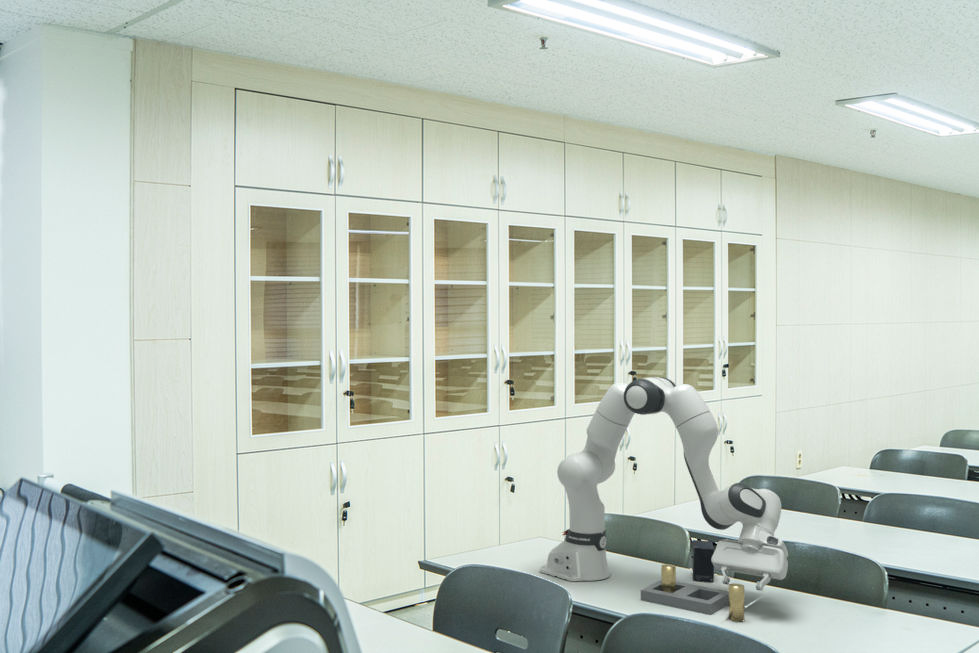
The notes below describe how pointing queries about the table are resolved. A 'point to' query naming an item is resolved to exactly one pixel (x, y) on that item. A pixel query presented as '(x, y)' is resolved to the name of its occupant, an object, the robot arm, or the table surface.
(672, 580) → the seated brass billet
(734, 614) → the brass billet
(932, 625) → the table surface
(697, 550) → the small box
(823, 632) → the table surface
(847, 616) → the table surface
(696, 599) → the tray
